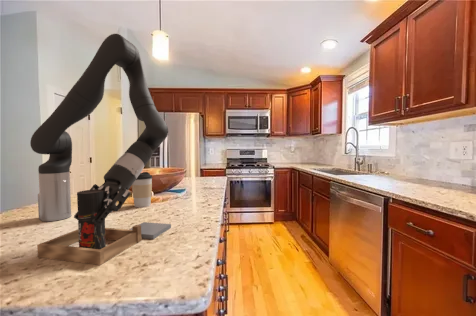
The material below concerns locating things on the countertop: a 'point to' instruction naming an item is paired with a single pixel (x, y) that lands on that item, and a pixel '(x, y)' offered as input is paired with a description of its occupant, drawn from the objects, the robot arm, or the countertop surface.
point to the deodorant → (90, 219)
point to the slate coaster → (153, 229)
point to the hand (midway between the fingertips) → (86, 221)
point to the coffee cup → (142, 190)
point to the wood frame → (63, 251)
